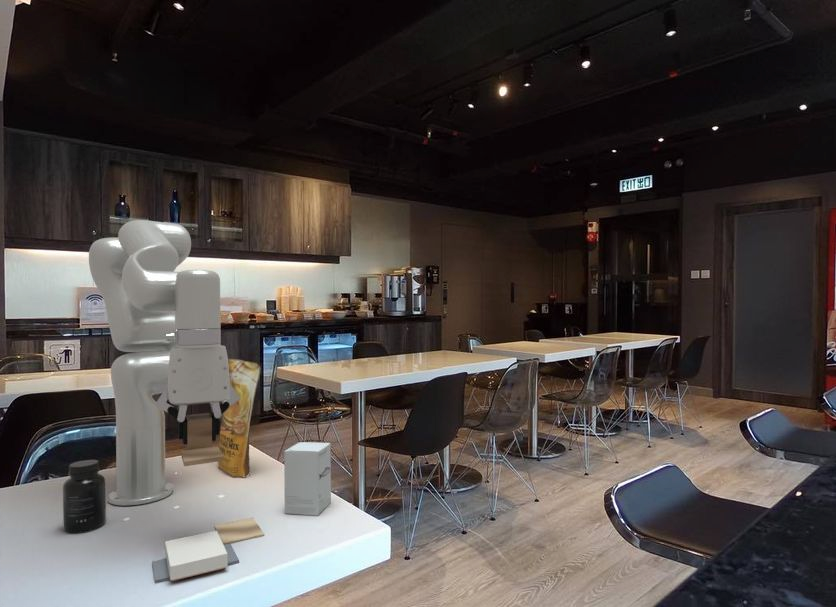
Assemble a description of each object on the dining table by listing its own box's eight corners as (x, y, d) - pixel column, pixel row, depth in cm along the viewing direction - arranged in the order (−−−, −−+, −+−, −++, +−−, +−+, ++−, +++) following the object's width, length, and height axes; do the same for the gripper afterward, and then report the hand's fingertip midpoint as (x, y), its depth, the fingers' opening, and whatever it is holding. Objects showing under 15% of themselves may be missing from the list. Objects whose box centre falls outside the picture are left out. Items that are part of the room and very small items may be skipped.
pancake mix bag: (236, 459, 143) (235, 357, 144) (264, 475, 128) (263, 361, 129) (211, 464, 139) (210, 358, 139) (236, 481, 124) (235, 363, 125)
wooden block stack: (179, 448, 95) (179, 415, 94) (214, 444, 97) (214, 412, 97) (184, 466, 86) (184, 430, 86) (222, 461, 89) (222, 426, 88)
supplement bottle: (67, 523, 101) (67, 460, 101) (108, 517, 103) (108, 456, 104) (59, 537, 94) (58, 470, 95) (102, 530, 97) (102, 465, 97)
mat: (152, 564, 83) (152, 561, 83) (230, 546, 90) (230, 543, 90) (155, 583, 77) (155, 580, 77) (239, 562, 83) (239, 560, 83)
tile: (165, 541, 86) (170, 566, 77) (216, 530, 90) (227, 553, 81) (165, 555, 85) (170, 582, 77) (216, 544, 89) (227, 568, 81)
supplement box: (318, 516, 102) (317, 451, 102) (283, 514, 104) (282, 450, 104) (332, 502, 109) (331, 442, 110) (299, 500, 111) (298, 441, 111)
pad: (214, 526, 98) (214, 525, 98) (252, 518, 101) (252, 517, 101) (223, 544, 90) (223, 543, 90) (264, 535, 94) (264, 533, 94)
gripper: (146, 341, 87) (147, 452, 87) (250, 338, 95) (251, 439, 94) (145, 340, 93) (146, 442, 93) (242, 336, 101) (243, 431, 101)
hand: (199, 440), depth 94 cm, fingers closed on wooden block stack, 4 cm apart
